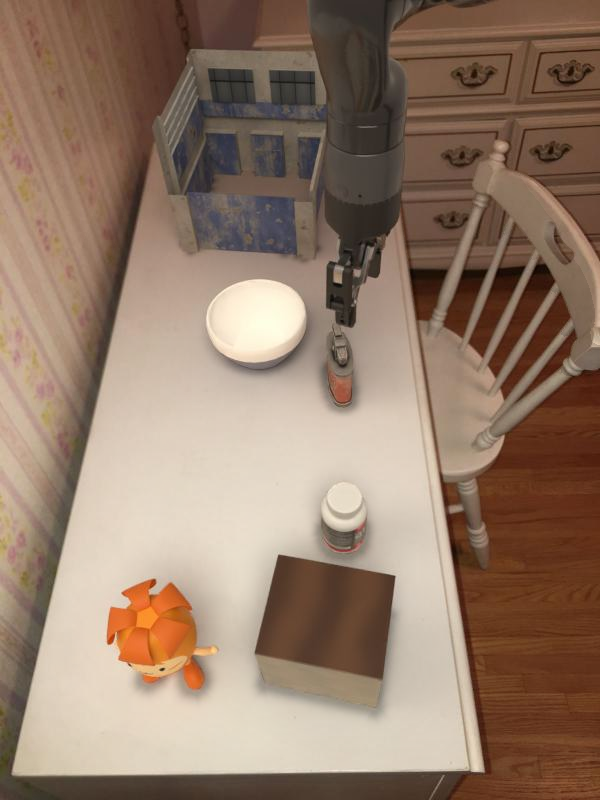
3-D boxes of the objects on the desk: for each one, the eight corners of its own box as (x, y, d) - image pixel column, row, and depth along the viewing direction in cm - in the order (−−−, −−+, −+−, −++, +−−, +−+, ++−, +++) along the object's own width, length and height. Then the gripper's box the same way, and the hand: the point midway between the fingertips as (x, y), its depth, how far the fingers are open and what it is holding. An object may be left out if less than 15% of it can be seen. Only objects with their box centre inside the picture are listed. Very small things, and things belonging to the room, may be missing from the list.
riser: (387, 614, 73) (395, 575, 64) (375, 707, 68) (382, 680, 58) (285, 594, 75) (278, 553, 66) (265, 684, 70) (254, 653, 60)
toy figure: (116, 688, 70) (70, 649, 58) (138, 615, 75) (100, 565, 63) (222, 704, 69) (198, 668, 56) (237, 629, 73) (218, 581, 61)
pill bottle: (364, 556, 78) (367, 520, 70) (320, 553, 78) (318, 517, 70) (366, 515, 81) (369, 477, 73) (323, 513, 81) (322, 474, 73)
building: (331, 175, 123) (330, 50, 104) (314, 259, 109) (310, 133, 91) (213, 169, 126) (191, 46, 107) (182, 251, 112) (151, 126, 93)
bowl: (326, 336, 99) (326, 301, 93) (271, 401, 92) (267, 367, 86) (251, 301, 104) (245, 265, 98) (193, 359, 97) (184, 325, 91)
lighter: (356, 406, 91) (358, 360, 83) (332, 409, 91) (332, 364, 83) (346, 362, 96) (347, 315, 88) (323, 365, 95) (322, 319, 87)
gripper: (377, 231, 57) (369, 351, 70) (422, 143, 64) (407, 266, 77) (298, 213, 59) (305, 333, 72) (351, 130, 66) (348, 252, 79)
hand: (358, 298), depth 74 cm, fingers open, 8 cm apart
